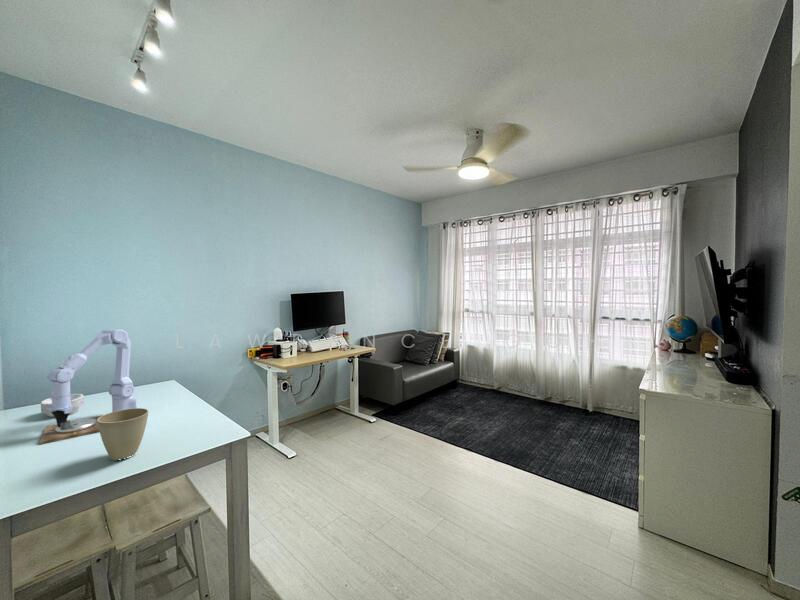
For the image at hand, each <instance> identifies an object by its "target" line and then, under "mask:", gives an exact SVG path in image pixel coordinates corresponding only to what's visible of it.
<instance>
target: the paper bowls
mask: <svg viewBox="0 0 800 600" xmlns="http://www.w3.org/2000/svg"><path fill="white" fill-rule="evenodd" d="M70 394H71V413H69V415H72V414H74V413H76V412H77V411H78V410H79V408H80V407H83V406H84V405H85V398H84V396H85V395H84V394H82V393H70ZM50 407H52V397H50V398H49V397H48V398H45V399H43V400H42V401H41V402H40V412H41V414H46V415H47V416H48V417H50V418H51V417H52V418H55V417H54V415H53V414H52V413H51V412H53V411H56V410H48V408H50Z"/></svg>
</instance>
